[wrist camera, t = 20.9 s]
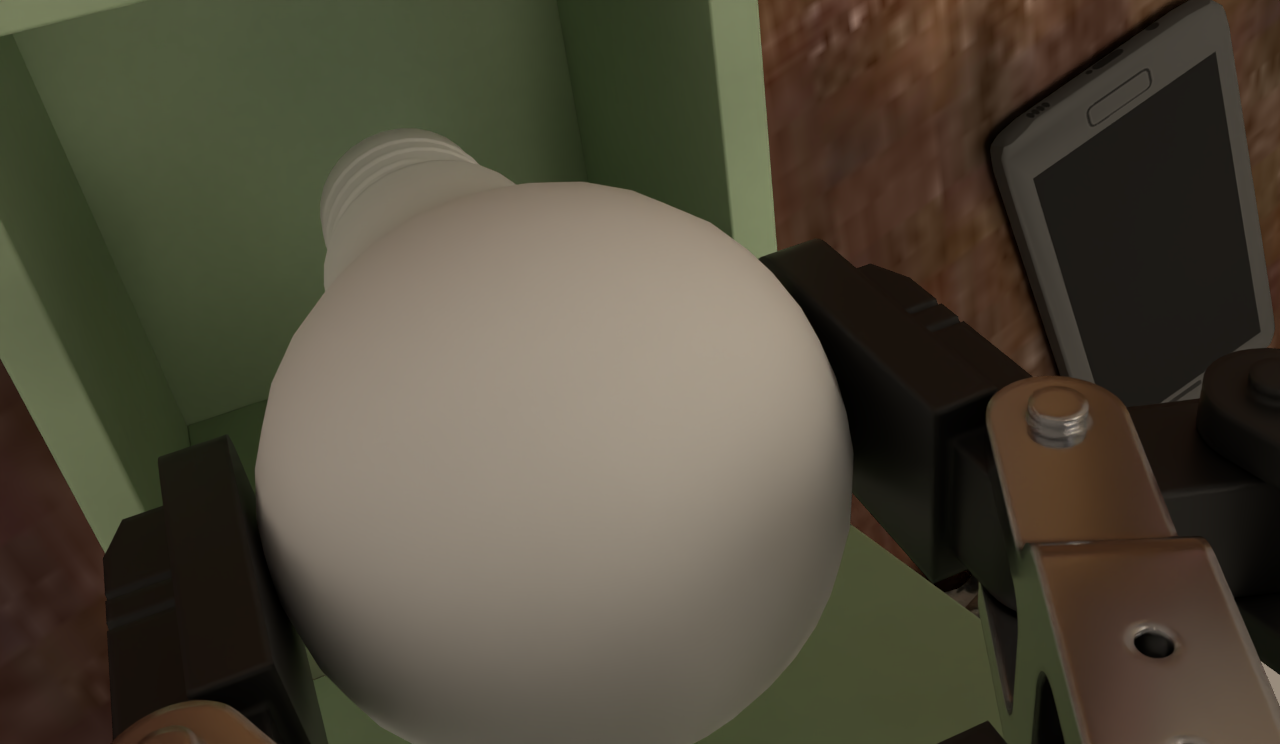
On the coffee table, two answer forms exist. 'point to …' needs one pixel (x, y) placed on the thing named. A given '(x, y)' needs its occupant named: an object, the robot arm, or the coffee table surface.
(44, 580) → the coffee table surface
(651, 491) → the lightbulb
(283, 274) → the chest
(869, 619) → the chest lid
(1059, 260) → the cell phone
